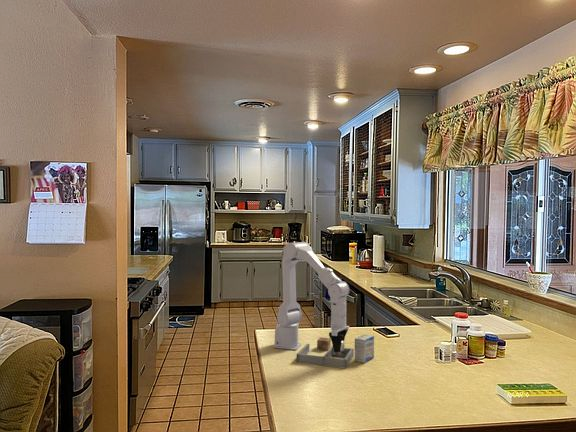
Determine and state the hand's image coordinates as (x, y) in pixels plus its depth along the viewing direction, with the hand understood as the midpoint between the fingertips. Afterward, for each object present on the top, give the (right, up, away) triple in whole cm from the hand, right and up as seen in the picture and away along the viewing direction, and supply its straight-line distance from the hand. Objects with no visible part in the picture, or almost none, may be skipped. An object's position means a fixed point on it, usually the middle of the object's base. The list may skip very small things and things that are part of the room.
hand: (338, 349), depth 173 cm
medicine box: (+10, -4, +2) cm, 11 cm away
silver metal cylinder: (0, -2, 0) cm, 2 cm away
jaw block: (-4, -4, +15) cm, 16 cm away
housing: (-5, -4, +2) cm, 6 cm away
